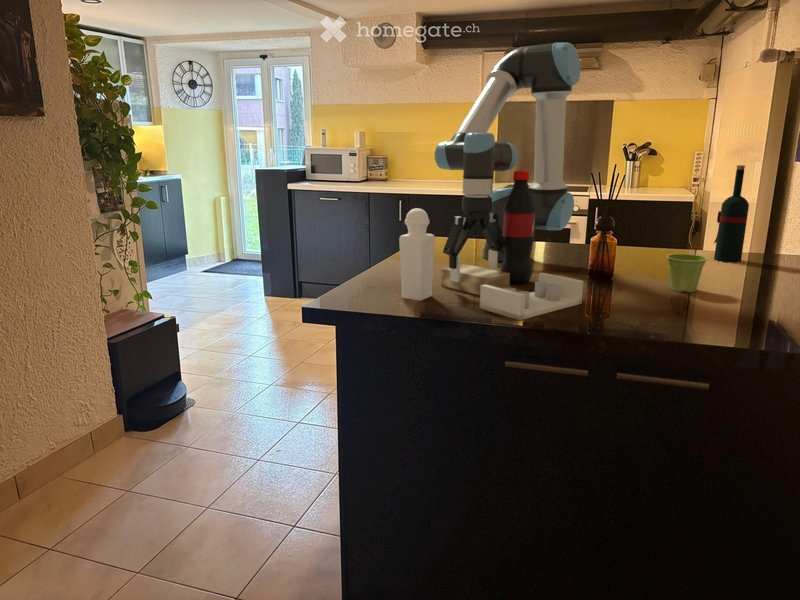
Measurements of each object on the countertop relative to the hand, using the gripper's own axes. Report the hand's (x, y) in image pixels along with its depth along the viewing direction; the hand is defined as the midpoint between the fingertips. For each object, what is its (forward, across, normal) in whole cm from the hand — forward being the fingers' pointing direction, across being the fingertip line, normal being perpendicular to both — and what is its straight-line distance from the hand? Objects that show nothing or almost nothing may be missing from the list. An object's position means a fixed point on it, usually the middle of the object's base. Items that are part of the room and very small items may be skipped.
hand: (474, 277), depth 153 cm
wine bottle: (+2, -91, +23) cm, 94 cm away
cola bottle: (+3, -14, +2) cm, 15 cm away
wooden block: (+3, 0, 0) cm, 3 cm away
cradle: (+3, +2, +21) cm, 21 cm away
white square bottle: (+3, +18, -2) cm, 18 cm away
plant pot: (+3, -41, +35) cm, 54 cm away
